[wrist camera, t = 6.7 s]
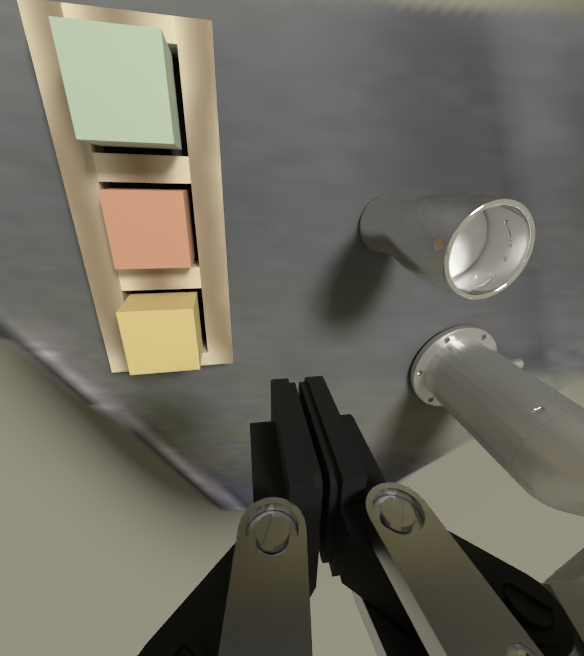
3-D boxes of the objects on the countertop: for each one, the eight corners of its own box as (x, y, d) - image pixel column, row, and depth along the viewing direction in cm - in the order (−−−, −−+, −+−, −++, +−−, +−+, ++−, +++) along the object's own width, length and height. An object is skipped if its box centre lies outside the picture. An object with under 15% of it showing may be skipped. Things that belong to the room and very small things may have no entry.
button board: (212, 37, 25) (211, 20, 22) (232, 349, 37) (233, 362, 34) (40, 18, 23) (16, -4, 20) (120, 357, 34) (112, 372, 32)
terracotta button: (188, 189, 28) (182, 191, 24) (195, 256, 31) (191, 267, 27) (116, 187, 27) (97, 189, 23) (129, 257, 30) (115, 269, 26)
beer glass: (354, 193, 32) (448, 203, 19) (417, 184, 33) (550, 188, 20) (355, 260, 35) (437, 310, 22) (413, 251, 36) (525, 293, 23)
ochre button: (196, 291, 30) (193, 308, 26) (202, 346, 33) (200, 369, 29) (130, 294, 29) (115, 312, 25) (141, 350, 32) (130, 375, 28)
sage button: (171, 54, 23) (161, 28, 19) (181, 149, 25) (174, 143, 21) (80, 45, 22) (48, 15, 18) (100, 145, 24) (76, 139, 20)
